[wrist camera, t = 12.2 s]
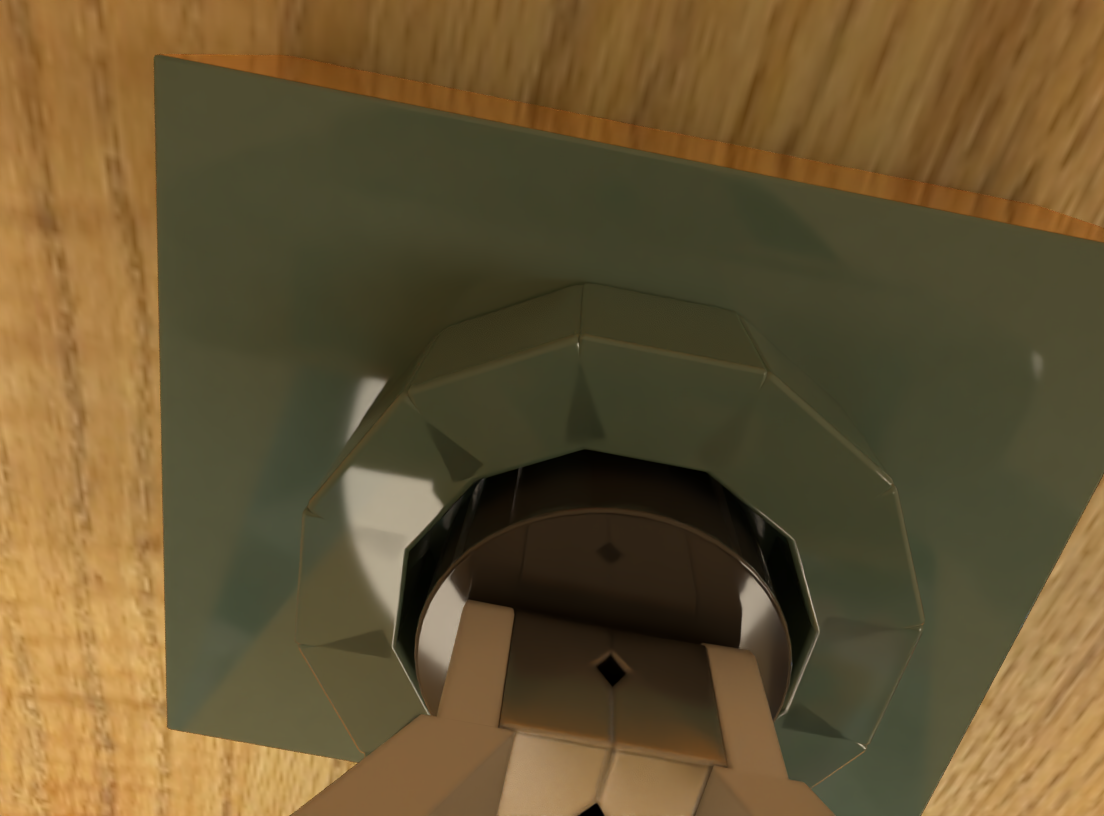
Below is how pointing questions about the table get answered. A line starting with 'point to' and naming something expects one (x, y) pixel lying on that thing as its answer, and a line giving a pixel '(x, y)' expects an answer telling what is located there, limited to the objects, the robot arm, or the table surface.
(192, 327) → the green push button box
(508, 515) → the knob
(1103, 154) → the table surface
